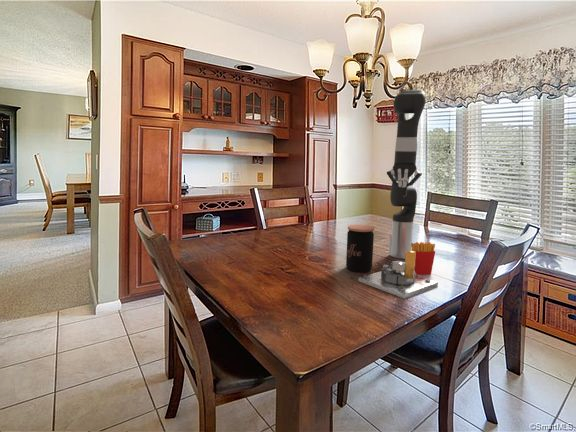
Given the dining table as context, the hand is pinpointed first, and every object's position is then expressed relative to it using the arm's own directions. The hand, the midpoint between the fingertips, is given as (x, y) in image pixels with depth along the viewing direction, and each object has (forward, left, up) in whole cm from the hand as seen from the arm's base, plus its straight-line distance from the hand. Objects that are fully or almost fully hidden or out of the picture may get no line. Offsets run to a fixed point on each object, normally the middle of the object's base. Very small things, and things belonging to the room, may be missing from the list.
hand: (402, 196), depth 130 cm
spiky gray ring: (+7, -8, -30) cm, 32 cm away
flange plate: (+5, -6, -32) cm, 33 cm away
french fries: (+3, +12, -32) cm, 34 cm away
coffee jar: (-15, -5, -32) cm, 36 cm away
